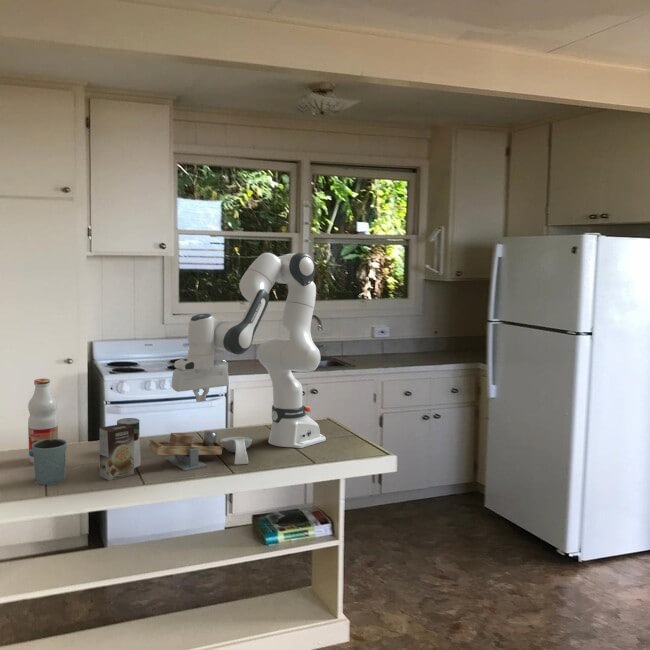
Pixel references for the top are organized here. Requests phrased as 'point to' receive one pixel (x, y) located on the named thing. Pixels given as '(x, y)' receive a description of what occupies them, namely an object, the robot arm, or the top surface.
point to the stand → (187, 460)
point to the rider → (180, 439)
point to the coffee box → (116, 451)
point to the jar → (136, 448)
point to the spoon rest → (237, 447)
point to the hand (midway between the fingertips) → (200, 401)
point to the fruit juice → (42, 415)
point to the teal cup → (49, 460)
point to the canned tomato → (130, 423)
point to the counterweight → (209, 438)
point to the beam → (183, 448)
